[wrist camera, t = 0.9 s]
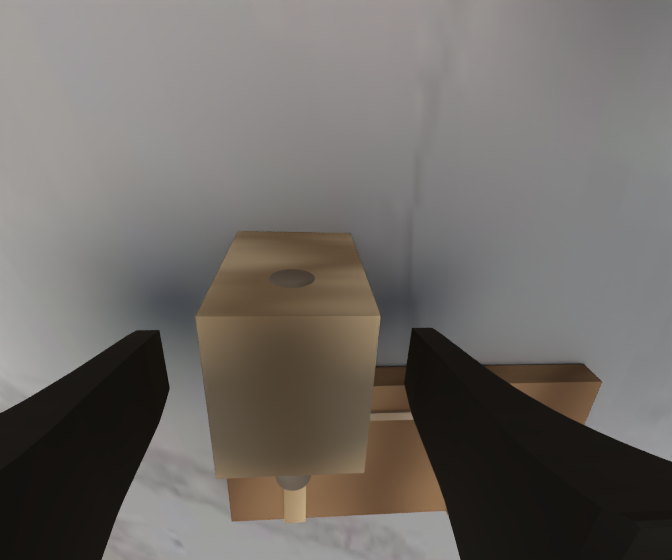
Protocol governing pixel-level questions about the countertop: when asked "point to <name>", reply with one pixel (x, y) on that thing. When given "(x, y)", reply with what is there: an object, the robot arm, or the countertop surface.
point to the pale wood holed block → (289, 357)
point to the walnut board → (400, 452)
